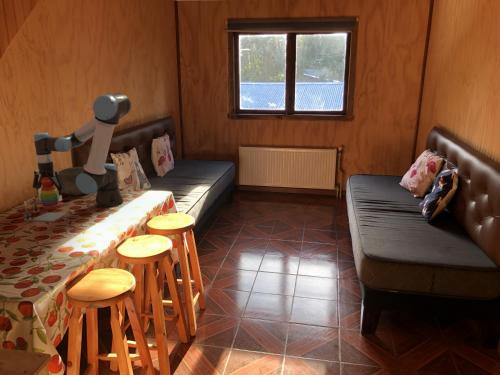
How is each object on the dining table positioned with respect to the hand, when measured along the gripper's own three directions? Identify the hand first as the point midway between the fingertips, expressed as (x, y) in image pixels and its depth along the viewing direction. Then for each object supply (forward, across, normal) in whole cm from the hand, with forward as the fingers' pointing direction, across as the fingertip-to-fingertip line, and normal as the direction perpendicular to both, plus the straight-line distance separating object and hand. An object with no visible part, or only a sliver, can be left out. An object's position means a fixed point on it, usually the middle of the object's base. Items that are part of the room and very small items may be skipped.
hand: (50, 200), depth 236 cm
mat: (+4, -10, +16) cm, 19 cm away
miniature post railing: (+4, +1, +15) cm, 16 cm away
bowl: (+4, +1, -27) cm, 27 cm away
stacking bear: (+4, 0, 0) cm, 4 cm away
